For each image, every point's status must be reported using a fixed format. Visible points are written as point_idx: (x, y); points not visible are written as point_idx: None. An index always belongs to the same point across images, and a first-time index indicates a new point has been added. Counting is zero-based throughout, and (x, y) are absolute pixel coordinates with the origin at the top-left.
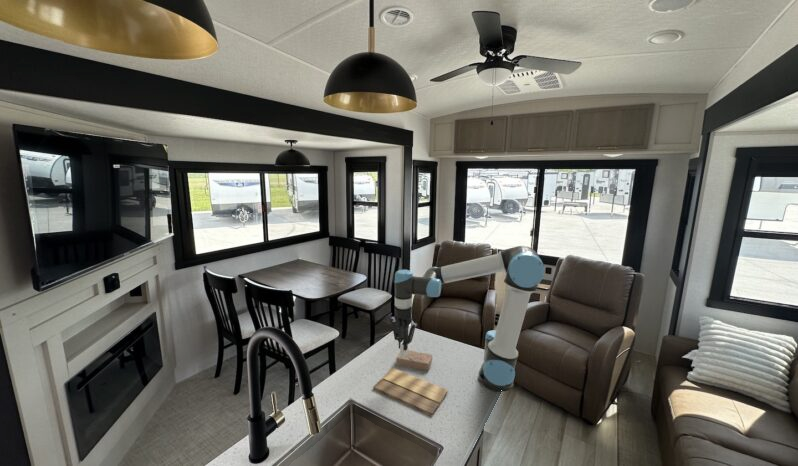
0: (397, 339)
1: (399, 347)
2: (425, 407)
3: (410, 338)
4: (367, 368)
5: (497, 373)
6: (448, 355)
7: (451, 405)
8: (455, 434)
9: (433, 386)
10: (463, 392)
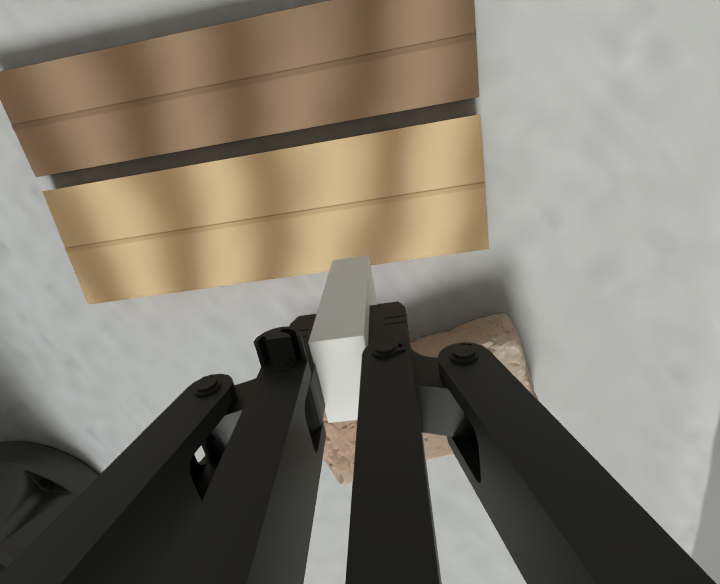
0: (438, 368)
1: (391, 310)
2: (54, 88)
3: (110, 468)
4: (662, 138)
5: None
6: (315, 529)
7: (20, 232)
8: None
9: (161, 277)
10: (63, 353)
